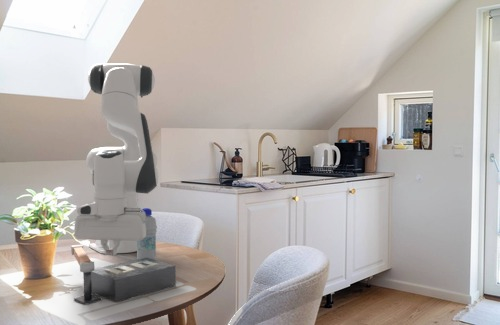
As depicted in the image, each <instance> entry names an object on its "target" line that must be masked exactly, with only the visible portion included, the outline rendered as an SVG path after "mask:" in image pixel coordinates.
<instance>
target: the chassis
mask: <svg viewBox="0 0 500 325" xmlns="http://www.w3.org/2000/svg"><path fill="white" fill-rule="evenodd" d="M176 268H177V267H176V265H175V264H172V263H169V262H165V261H161V260H157V259H156V260H154V259H150V258H142V259H137V258H136V259H134V260H129V261H124V262H120V263H119V262H118V263H115V264H111V265H106V266H101V267H96V268H95V267H94V271H92V272H91V282H92V294H93V295H95V296H98V297H100V298H103V299H106V300H109V301H111V302H114V303H119V302H123V301H126V300H130V299H134V298H137V297H141V296H144V295H148V294H151V293H154V292H158V291H162V290H166V289H169V288H173V287H176V285H177V282H176V276H177V273H176Z"/></svg>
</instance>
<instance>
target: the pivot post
mask: <svg viewBox="0 0 500 325" xmlns="http://www.w3.org/2000/svg"><path fill="white" fill-rule="evenodd" d="M82 273H83V277H82V278H83V295H81V296H77V297H74V298H73V299H74V300H73V301H75V302H78V303H79V304H81V305H84V306H85V305H88V304H93V303H95V302H99V301H102V297H101V296H98V295H96V294H93V293H92V282H91V272H82Z"/></svg>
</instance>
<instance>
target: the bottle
mask: <svg viewBox="0 0 500 325" xmlns="http://www.w3.org/2000/svg"><path fill="white" fill-rule="evenodd" d="M141 209H142V210H143V211H144V212H145V213H146V221H145V227H146V237H145V238H144V239H143V240H141V241H137V251H136V260H137V259H142V258H150V259H154V260H157V248H156V247H157V246H156V244H157V243H156V242H157V241H156V240H157V239H156V238H157V237H156V236H157V235H156V234H157V229H158V227H157V221H156V220H157V219H156V217H154V216H152V215H153V214H152V213H153V212H152V209H151V208H147V207H146V208H141ZM140 212H142V211H140Z"/></svg>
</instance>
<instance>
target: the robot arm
mask: <svg viewBox="0 0 500 325" xmlns="http://www.w3.org/2000/svg"><path fill="white" fill-rule="evenodd" d="M87 75H88V77H87V80H88V85H89V87H90V90H91V91H92V92H93V93H95V94H98V95H101V96H100V111H101V112H100V113H101V115H102V117H103V119H104V120H105V121H106V122H107V123H106V127H107V128H106V129H107V132H108V133H109V134H110V135H111V136H112V137H114V138H115V139H118V140H120V141H122V142H123V143H124V145H123V146H103V147H97V148H92V149H91V150H89V152H88V154H87V156H86V160H85V161H86V162H85V164H86V168H87V170H88V172H89V173H90V174H92V185H93V186H94V195H93V201H91V202H88V203H86V204H83V205H80V206H78V207H77V209H76V213H77V216H76V217H75V221H74V229H73V230H74V233H73V234H74V237H75V238H76V240H84V241H85V240H86V241H89V240H90V241H91V240H93V241H94V240H95V242H92V243H91V242H90V243H89V244H90V245H88V247H89V248H91V249H93V251H96V252H97V253H100V254H104V255H105V256H112V257H113V256H116V255H117V254H126V253H127V254H128V253H134V252H137V241H141V240H143V239H144V238H145V237H146V227H145V221H146V213H145V212H144V211H143V210H142V209H143V208H140V207H139V205H138V204H139V203H138V202H139V200H138V199H139V196H138V194H147V195H148V194H149V193H150V192H151V193H152V192H153V190H155V189H156V188H157V187H158V183H159V173H158V169H157V163H158V158H157V155H156V153H155V151H154V150H153V148H152V147H153V146H152V142H151V141H152V140H151V135H150V130H149V124H148V120H147V117H146V115H145V114H144V113H142V112H140V111H139V98H138V96H140V98H143V97H145V96H149V95H150V94H151V93H152V91H153V89H154V87H155V82H156V80H155V79H156V78H155V75H154V73H153V69H152V68H151V67H149V66H146V65H142V64H141V65H138V64H133V63H122V62H121V63H103V62H101V63H96V64H95V63H94V64H93V65H92V66H91V67H90V70H89V71H88V74H87ZM141 211H142V212H141Z"/></svg>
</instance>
